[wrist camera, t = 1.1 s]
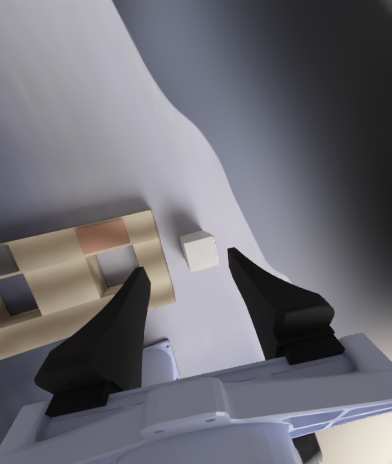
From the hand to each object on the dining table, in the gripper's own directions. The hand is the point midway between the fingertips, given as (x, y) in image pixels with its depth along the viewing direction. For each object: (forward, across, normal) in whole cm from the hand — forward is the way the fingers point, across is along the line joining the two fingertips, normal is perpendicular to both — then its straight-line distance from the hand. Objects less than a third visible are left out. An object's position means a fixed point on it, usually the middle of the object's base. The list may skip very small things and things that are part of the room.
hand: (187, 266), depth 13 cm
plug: (+11, -1, +6) cm, 13 cm away
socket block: (+8, +17, +5) cm, 20 cm away
